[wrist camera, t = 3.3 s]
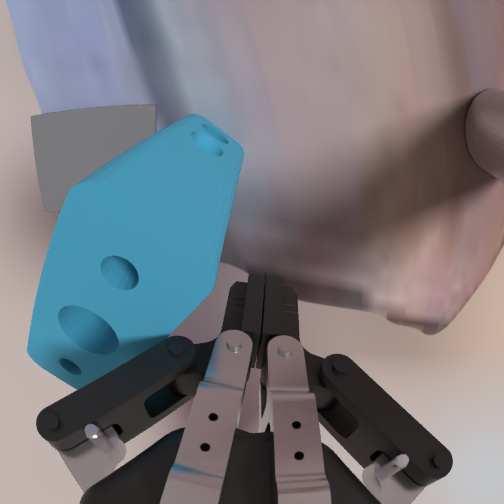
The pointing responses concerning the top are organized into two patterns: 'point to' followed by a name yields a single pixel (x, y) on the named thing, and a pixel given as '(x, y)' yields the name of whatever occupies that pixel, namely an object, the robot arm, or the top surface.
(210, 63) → the top surface
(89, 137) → the mat
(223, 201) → the block
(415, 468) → the robot arm
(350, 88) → the top surface
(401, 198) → the top surface
